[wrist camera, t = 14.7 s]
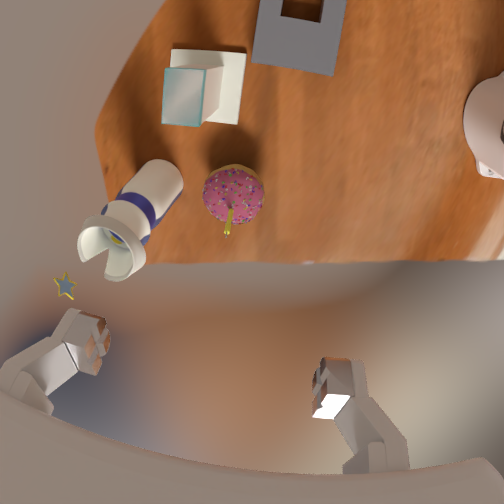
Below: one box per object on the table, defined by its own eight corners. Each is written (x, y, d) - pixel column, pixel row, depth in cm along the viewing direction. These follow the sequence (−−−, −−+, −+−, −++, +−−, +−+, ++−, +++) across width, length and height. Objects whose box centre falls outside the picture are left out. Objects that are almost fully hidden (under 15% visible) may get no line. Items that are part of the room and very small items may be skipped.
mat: (247, 53, 36) (246, 53, 35) (237, 123, 42) (236, 124, 41) (174, 49, 36) (171, 49, 35) (168, 116, 42) (166, 117, 41)
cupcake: (268, 206, 49) (263, 252, 39) (214, 209, 50) (196, 253, 41) (263, 152, 44) (256, 186, 34) (205, 157, 45) (181, 192, 36)
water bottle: (169, 216, 52) (103, 331, 31) (128, 186, 49) (40, 287, 29) (196, 180, 48) (131, 293, 27) (152, 148, 45) (56, 239, 25)
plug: (224, 65, 36) (204, 69, 27) (219, 108, 40) (198, 126, 31) (193, 63, 36) (165, 68, 28) (189, 105, 40) (161, 123, 31)
